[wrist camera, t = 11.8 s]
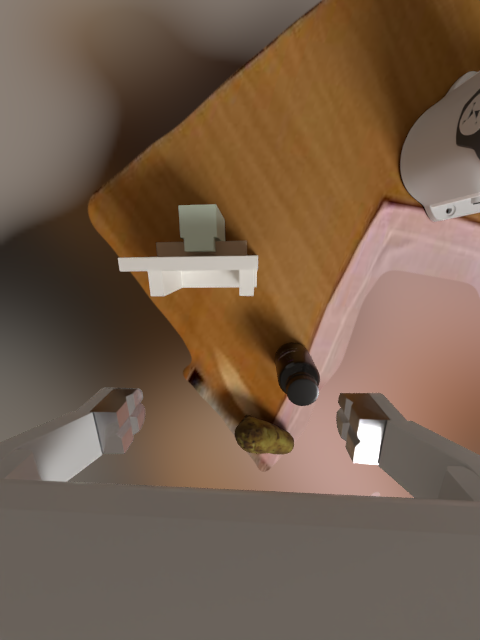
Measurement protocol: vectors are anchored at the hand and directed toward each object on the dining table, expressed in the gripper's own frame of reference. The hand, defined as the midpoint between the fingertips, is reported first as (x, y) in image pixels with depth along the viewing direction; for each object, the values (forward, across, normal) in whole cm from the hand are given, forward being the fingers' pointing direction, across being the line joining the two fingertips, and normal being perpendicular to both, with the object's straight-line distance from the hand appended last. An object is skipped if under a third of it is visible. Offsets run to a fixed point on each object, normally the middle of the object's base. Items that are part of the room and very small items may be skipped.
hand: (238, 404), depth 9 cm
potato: (+34, -3, +30) cm, 46 cm away
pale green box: (+33, +7, -10) cm, 35 cm away
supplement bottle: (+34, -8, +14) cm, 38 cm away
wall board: (+34, +7, -5) cm, 35 cm away
